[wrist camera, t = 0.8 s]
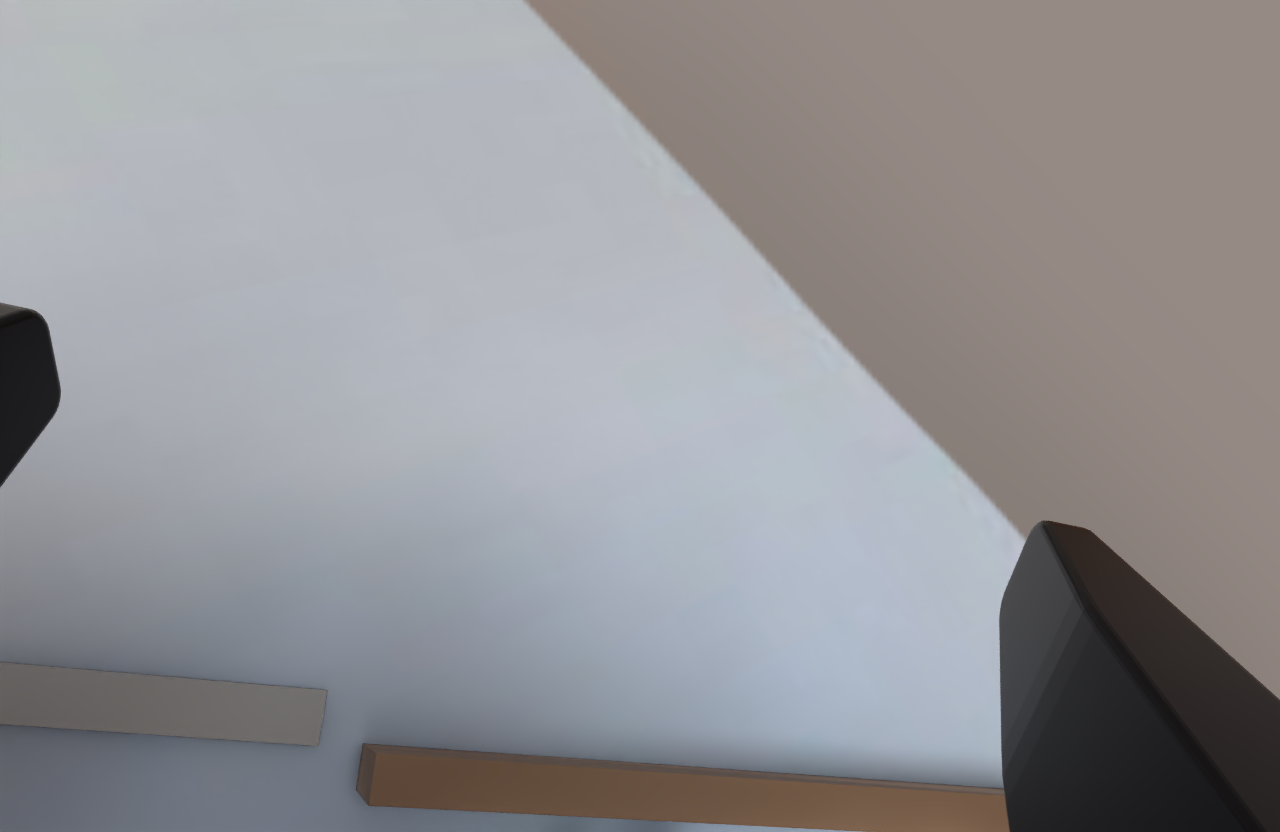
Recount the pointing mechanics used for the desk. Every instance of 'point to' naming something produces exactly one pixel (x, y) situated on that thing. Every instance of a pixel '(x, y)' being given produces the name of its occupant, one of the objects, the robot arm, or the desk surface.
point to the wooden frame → (668, 792)
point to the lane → (158, 705)
